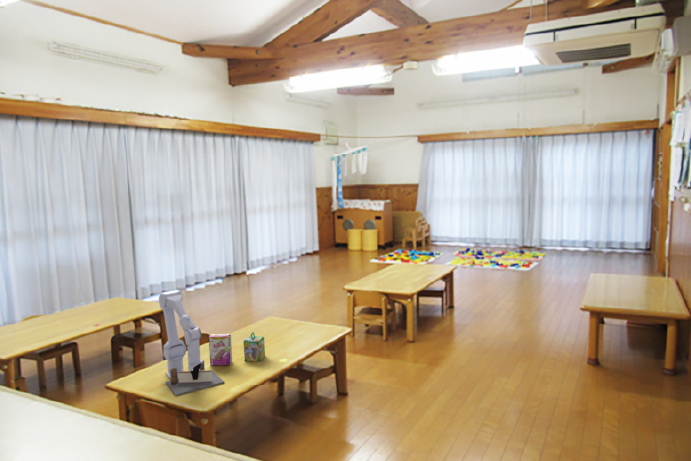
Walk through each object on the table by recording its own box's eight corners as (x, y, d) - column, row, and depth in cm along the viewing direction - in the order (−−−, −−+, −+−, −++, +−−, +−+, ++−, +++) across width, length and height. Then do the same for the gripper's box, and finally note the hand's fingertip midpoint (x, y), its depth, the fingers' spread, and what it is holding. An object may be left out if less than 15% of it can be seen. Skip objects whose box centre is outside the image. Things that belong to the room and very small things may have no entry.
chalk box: (259, 362, 260) (258, 336, 259) (244, 361, 262) (242, 335, 261) (265, 356, 269) (264, 330, 268) (250, 355, 271) (249, 330, 270)
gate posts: (170, 384, 234) (169, 369, 233) (203, 374, 246) (202, 359, 245) (172, 386, 232) (171, 371, 231) (205, 376, 243) (204, 361, 243)
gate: (178, 382, 233) (177, 372, 233) (179, 381, 234) (178, 371, 234) (211, 381, 234) (210, 370, 234) (212, 380, 235) (211, 369, 235)
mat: (165, 383, 236) (165, 381, 236) (212, 371, 249) (212, 369, 249) (175, 396, 221) (175, 394, 221) (224, 383, 234) (224, 381, 234)
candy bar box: (210, 366, 257) (208, 336, 255) (212, 362, 262) (210, 333, 260) (230, 365, 257) (229, 336, 255) (232, 361, 262) (231, 333, 260)
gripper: (198, 357, 224) (200, 385, 225) (205, 347, 238) (207, 373, 240) (183, 358, 224) (184, 386, 225) (191, 347, 238) (193, 373, 239)
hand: (195, 379), depth 232 cm, fingers closed
